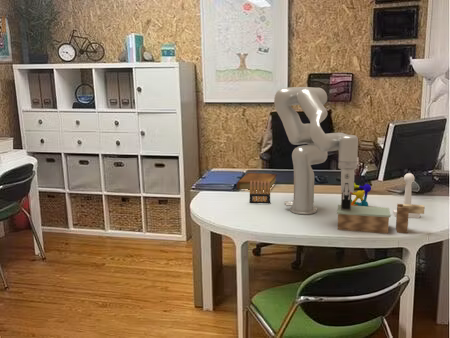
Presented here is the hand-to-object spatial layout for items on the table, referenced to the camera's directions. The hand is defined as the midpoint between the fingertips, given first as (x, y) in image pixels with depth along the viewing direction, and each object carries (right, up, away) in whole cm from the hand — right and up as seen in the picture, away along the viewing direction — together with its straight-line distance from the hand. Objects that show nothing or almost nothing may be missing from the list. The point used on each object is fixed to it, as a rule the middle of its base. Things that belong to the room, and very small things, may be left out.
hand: (346, 206), depth 192 cm
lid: (+7, -2, -2) cm, 7 cm away
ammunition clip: (-34, -2, +38) cm, 51 cm away
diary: (-32, +5, +74) cm, 81 cm away
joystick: (+31, -6, +15) cm, 35 cm away
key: (+25, -2, -7) cm, 27 cm away
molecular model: (+12, -3, +28) cm, 31 cm away
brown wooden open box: (+10, -9, -1) cm, 14 cm away
